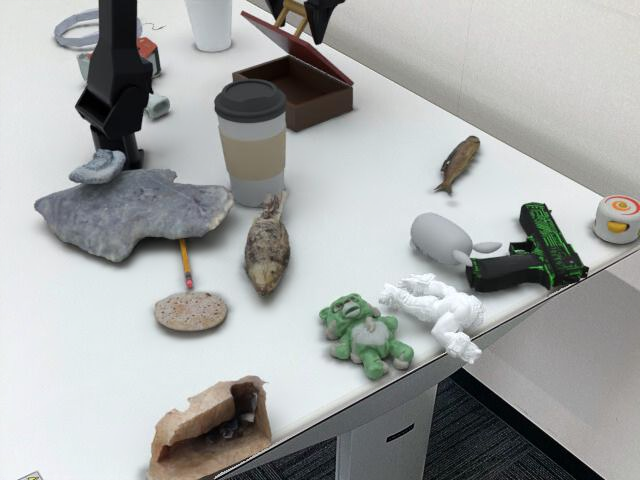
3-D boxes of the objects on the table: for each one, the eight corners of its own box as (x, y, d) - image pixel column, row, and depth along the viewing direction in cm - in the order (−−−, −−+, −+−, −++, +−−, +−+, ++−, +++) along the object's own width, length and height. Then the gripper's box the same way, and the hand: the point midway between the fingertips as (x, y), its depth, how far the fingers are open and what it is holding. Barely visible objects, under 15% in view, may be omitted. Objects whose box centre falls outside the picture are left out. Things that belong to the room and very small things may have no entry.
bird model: (227, 278, 82) (244, 313, 85) (279, 264, 81) (294, 300, 84) (239, 184, 98) (252, 216, 101) (282, 171, 97) (295, 204, 100)
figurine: (367, 341, 82) (475, 374, 79) (370, 306, 78) (483, 340, 75) (399, 283, 88) (499, 312, 85) (403, 248, 84) (507, 278, 82)
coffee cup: (218, 182, 105) (204, 77, 95) (280, 171, 107) (274, 67, 97) (234, 217, 99) (221, 108, 88) (300, 204, 101) (295, 96, 91)
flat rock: (248, 189, 102) (70, 174, 104) (244, 157, 98) (58, 142, 100) (216, 283, 91) (17, 264, 93) (209, 251, 87) (2, 232, 89)
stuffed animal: (367, 391, 76) (368, 361, 73) (301, 326, 83) (300, 297, 80) (428, 359, 80) (431, 329, 77) (359, 300, 87) (360, 271, 84)
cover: (306, 46, 108) (327, 10, 107) (239, 14, 117) (259, -20, 116) (352, 86, 118) (372, 53, 117) (287, 53, 127) (305, 22, 126)
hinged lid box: (295, 132, 116) (294, 108, 113) (234, 95, 125) (231, 72, 122) (353, 110, 121) (353, 87, 119) (289, 76, 130) (289, 54, 128)
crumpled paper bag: (143, 478, 69) (133, 403, 65) (254, 434, 76) (250, 364, 72) (174, 506, 65) (165, 428, 61) (287, 457, 72) (285, 384, 69)
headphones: (160, 9, 150) (60, 36, 147) (150, -21, 145) (47, 7, 143) (172, 42, 137) (63, 72, 135) (161, 10, 133) (49, 41, 131)
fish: (459, 142, 114) (459, 127, 112) (483, 143, 113) (483, 129, 111) (428, 203, 103) (427, 188, 101) (454, 205, 101) (454, 190, 100)
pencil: (193, 287, 88) (192, 282, 87) (187, 288, 88) (186, 283, 87) (178, 201, 101) (177, 195, 100) (172, 201, 101) (171, 196, 100)
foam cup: (246, 50, 138) (239, -26, 129) (197, 58, 135) (187, -19, 126) (229, 32, 144) (221, -42, 135) (182, 39, 141) (171, -35, 133)
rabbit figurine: (394, 243, 93) (459, 288, 85) (407, 204, 91) (474, 247, 83) (431, 243, 97) (495, 286, 89) (443, 206, 95) (511, 246, 87)
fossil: (86, 171, 89) (55, 162, 91) (92, 198, 91) (62, 189, 93) (134, 145, 94) (103, 138, 96) (139, 171, 96) (109, 163, 98)
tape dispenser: (166, 131, 119) (196, 70, 132) (162, 100, 115) (193, 40, 128) (56, 119, 119) (97, 60, 133) (48, 88, 115) (91, 30, 129)
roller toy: (659, 207, 93) (626, 185, 97) (619, 220, 91) (587, 198, 95) (649, 237, 96) (618, 215, 100) (610, 251, 94) (580, 227, 98)
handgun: (477, 306, 86) (600, 292, 88) (481, 285, 84) (606, 272, 86) (437, 228, 97) (547, 218, 100) (440, 208, 95) (552, 198, 98)
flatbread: (234, 300, 87) (233, 292, 87) (218, 338, 81) (217, 330, 81) (164, 292, 88) (163, 285, 87) (143, 330, 82) (142, 322, 81)
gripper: (382, -73, 105) (379, 40, 116) (299, -100, 115) (303, 6, 126) (320, -58, 99) (322, 59, 110) (239, -88, 110) (248, 22, 120)
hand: (299, 35), depth 117 cm, fingers open, 9 cm apart
